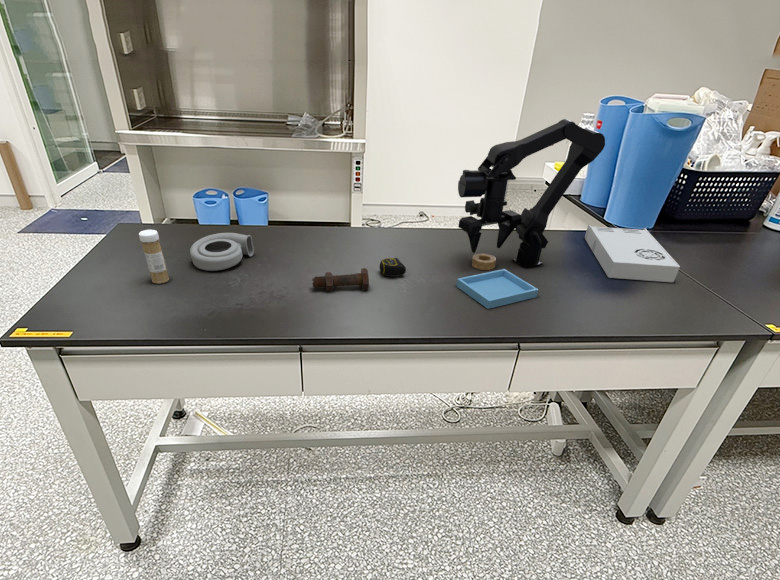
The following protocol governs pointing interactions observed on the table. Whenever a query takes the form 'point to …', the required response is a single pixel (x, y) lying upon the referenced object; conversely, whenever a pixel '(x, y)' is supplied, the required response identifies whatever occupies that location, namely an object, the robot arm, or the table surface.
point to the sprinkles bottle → (154, 256)
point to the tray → (496, 288)
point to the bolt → (342, 280)
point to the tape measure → (392, 267)
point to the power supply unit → (631, 254)
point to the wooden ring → (483, 261)
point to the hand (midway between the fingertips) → (485, 250)
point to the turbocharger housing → (221, 251)
